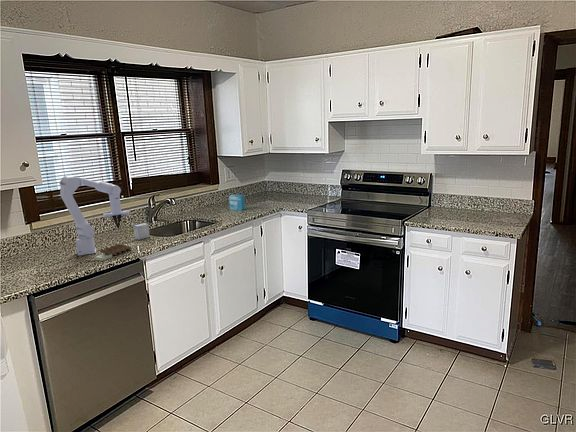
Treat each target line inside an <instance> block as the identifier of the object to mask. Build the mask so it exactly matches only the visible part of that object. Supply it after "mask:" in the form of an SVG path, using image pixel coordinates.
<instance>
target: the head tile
mask: <svg viewBox="0 0 576 432" xmlns="http://www.w3.org/2000/svg"><path fill="white" fill-rule="evenodd" d="M114 246H118V247H121V248H125V249H127V250H126V251H132V250H131V249H132V247H131V246H127V245H124V244H119V243H118V244H117V243H116V244H115V245H114Z"/></svg>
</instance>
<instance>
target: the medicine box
mask: <svg viewBox="0 0 576 432" xmlns="http://www.w3.org/2000/svg"><path fill="white" fill-rule="evenodd" d="M149 227H150V226H149V223H145V222H144V223H140V224H135V225H133V232H134V239H135V240H143V239H147V238H150V228H149Z"/></svg>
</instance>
